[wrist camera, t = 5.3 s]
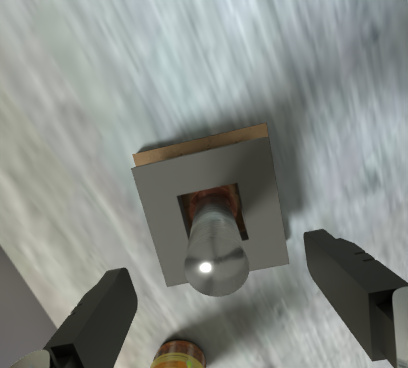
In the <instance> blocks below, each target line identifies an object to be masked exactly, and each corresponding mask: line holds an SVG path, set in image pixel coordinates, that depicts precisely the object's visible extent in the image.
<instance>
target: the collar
mask: <svg viewBox="0 0 408 368" xmlns="http://www.w3.org/2000/svg"><path fill="white" fill-rule="evenodd" d="M131 170H132V173H133V176H134V180H135V183H136V186H137V190H138V193H139V196H140V199H141V203H142V206H143V209H144V213H145V216H146V219H147V222H148V226H149V229H150V232H151V236H152V239H153V242H154V245H155V249H156V252H157V255H158V259H159V262H160V265H161V269H162V272H163V275H164V278H165V282H166V285H167V287H169V286H174V285H180V284H185V283H189V282H188V280H187V278H186V275H185V271H184V263H185V258H186V253H187V248H188V243H189V238H190V229H189V225H188V221H187V217H186V214H185V210H184V206H183V202H182V198H181V195H183V194H187V193H192V192H197V191H201V190H206V189H210V188H215V187H219V186H224V185H229V184H233V183H236V186H237V191H238V195H239V200H240V205H241V210H242V215H243V220H244V225H245V230H246V231H242V232H239V233H240V236H241V239H242V243H243V246H244V249H245V252H246V255H247V258H248V261H249V271H254V270H259V269H265V268H270V267H275V266H281V265H286V264H289V258H288V252H287V246H286V240H285V233H284V227H283V221H282V215H281V209H280V203H279V197H278V190H277V184H276V178H275V172H274V166H273V160H272V154H271V147H270V141H269V137H261V138H256V139H252V140H248V141H243V142H239V143H235V144H230V145H226V146H222V147H217V148H213V149H209V150H205V151H200V152H196V153H192V154H187V155H183V156H179V157H174V158H170V159H166V160H161V161H157V162H153V163H149V164H144V165H140V166H137V167H134V168H131Z"/></svg>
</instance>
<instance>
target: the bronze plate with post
mask: <svg viewBox="0 0 408 368" xmlns="http://www.w3.org/2000/svg"><path fill="white" fill-rule="evenodd" d="M261 137H268V131H267V124H266V123H263V124H259V125H255V126H251V127H246V128H242V129H238V130H234V131H229V132H225V133H221V134H217V135H213V136H208V137H204V138H200V139H196V140H191V141H187V142H183V143H179V144H175V145H170V146H166V147H162V148H158V149H153V150H149V151H145V152H141V153H136V154H132V155H133V158H134V161H135V165H136V167H137V166H140V165H144V164H149V163H153V162H157V161H161V160H166V159H170V158H174V157H179V156H183V155H187V154H192V153H196V152H200V151H205V150H209V149H213V148H217V147H222V146H226V145H230V144H235V143H239V142H243V141H248V140H252V139H256V138H261ZM181 198H182V202H183V206H184V210H185V214H186V217H187V221H188V225H189V229H190V238H189V243H188V248H187V253H186V258H185V263H184V271H185V275H186V278H187V280H188V282H189V283H190V285H191V286H192V287H193V288H194V289H196V290H197V291H199V292H200V293H202V294H205V295H209V296H225V295H229V294H231V293H233V292H235V291H237V290H238V289H239V288H240V287H241V286H242V285H243V284H244V283H245V281H246V279H247V277H248V274H249V261H248V258H247V255H246V252H245V249H244V246H243V243H242V239H241V236H240V233H239V232H242V231H246V230H245V225H244V220H243V215H242V210H241V205H240V200H239V195H238V191H237V186H236V183H233V184H229V185H224V186H219V187H215V188H210V189H206V190H201V191H197V192H192V193H187V194H183V195H181Z"/></svg>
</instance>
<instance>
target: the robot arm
mask: <svg viewBox="0 0 408 368" xmlns="http://www.w3.org/2000/svg"><path fill="white" fill-rule="evenodd" d="M304 245H305V252H306V260H307V266H308V270H309V272H310V275H311V277H312V279H313V280H314V282H315V283H316V284H317V286H318V287H319V289H320V290H321V291H322V293H323V294H324V295H325V297H326V298H327V300H328V301H329V302H330V304H331V305H332V306H333V308H334V309H335V311H336V312H337V313H338V315H339V316H340V317H341V319H342V320H343V322H344V323H345V324H346V326H347V327H348V328H349V330H350V331H351V333H352V334H353V335H354V337H355V338H356V339H357V341H358V342H359V344H360V345H361V346H362V348H363V349H364V350H365V352H366V353H367V355H368V356H369V357H370V359H371V360H372V361H378V360H385V359H387V360H388V361H389V362H390V364H391V365H392V366H393V367H394V368H408V283H407V282H406V281H405V280H403V279H402V278H400V277H399V276H398V275H396V274H395V273H394V272H392V271H391V270H390V269H388V268H387V267H386V266H384V265H383V264H382V263H380V262H379V261H377V260H375V259H374V258H373V257H372V256H371V255H369V254H368V253H365V251H364V250H363V249H361V248H360V247H359V246H357V245H356V244H355V243H352V242H349V241H347V240H344V239H342V238H338V239H335V238H334V237H333V236H332V235H330V234H329V233H328V232H327V231H326V230H324V229H319V230H314V231H309V232H305V233H304ZM137 305H138V300H137V295H136V292H135V289H134V286H133V284H132V281H131V278H130V275H129V272H128V270H127V269H126V268H119V269H114V270H109V271H107V272H106V273H105V274H104V276H103V277H102V278H101V280H100V281H99V282H98V284H97V285H95V286H94V287H93V288H92V289H91V290H89V291H88V292H87V293H86V294H85V295H84V296H83V298H82V299H81V300H80V302H79V303H78V304H77V306H76V307H75V308H74V309H73V311H72V312H71V315H69V316H68V317H67V318H66V320H65V321H64V322H63V324H62V325H61V326H60V327H59V329H58V330H57V331H56V333H55V334H54V335H53V337H52V338H51V339H50V340H49V342H48V343H47V344H46V346H45V347H44V348H43V349H42V350H38V351H35V352H32V353H30V354H28V355H26V356H24V357H23V358H21V359H20V360H18V361H17V362H15V363H14V364H13V365H12V366H10V367H9V368H113V367H114V365H115V362H116V360H117V357H118V355H119V353H120V350H121V348H122V345H123V343H124V340H125V338H126V335H127V333H128V330H129V328H130V326H131V323H132V321H133V318H134V316H135V313H136V311H137Z"/></svg>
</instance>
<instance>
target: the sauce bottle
mask: <svg viewBox="0 0 408 368" xmlns="http://www.w3.org/2000/svg"><path fill="white" fill-rule="evenodd" d="M150 368H206V360H205V357H204V354H203V352H202V351H201V350H200V348H199V347H197V346H196V345H195V344H194V343H191V342H189V341H183V340H174V341H169V342H168V343H165V344H164V345H163V346H162V347H161V348H160V349H159V350H158V352H157V354H156V356H155V357H154V360H153V363H152V364H151V367H150Z"/></svg>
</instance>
